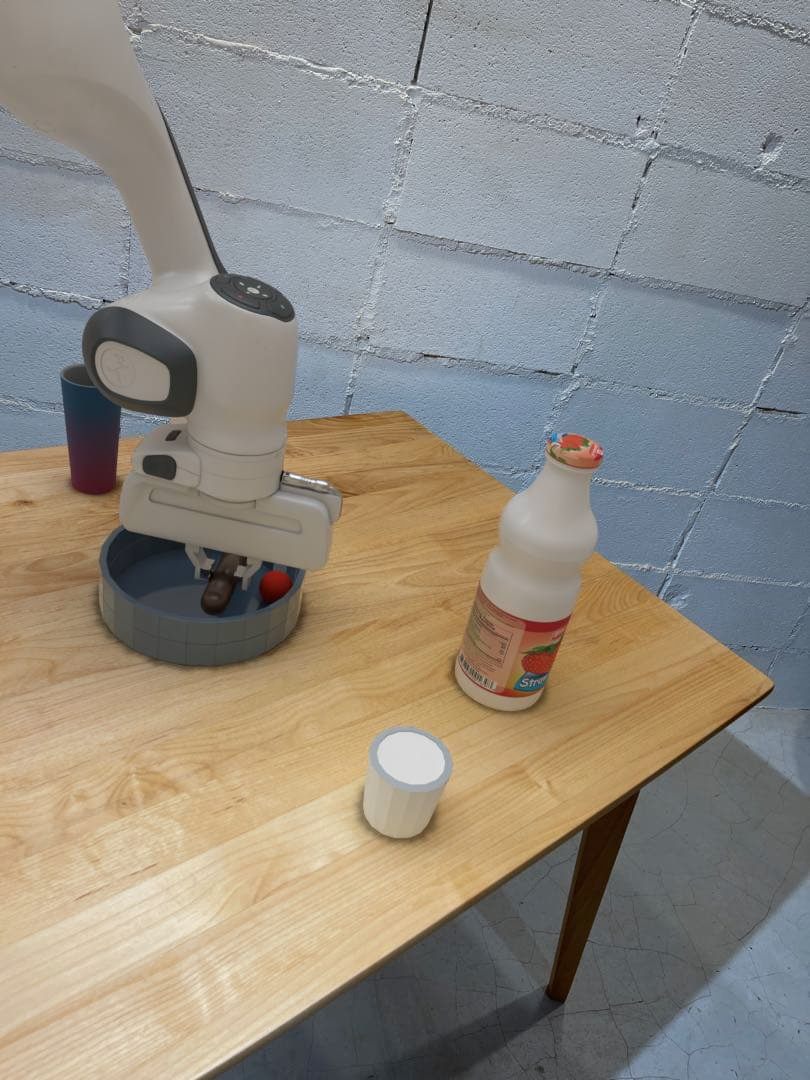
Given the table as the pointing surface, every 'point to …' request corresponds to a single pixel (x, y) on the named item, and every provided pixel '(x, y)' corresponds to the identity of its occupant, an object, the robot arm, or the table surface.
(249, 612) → the bowl
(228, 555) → the brown bar
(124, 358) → the robot arm
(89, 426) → the cup
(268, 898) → the table surface
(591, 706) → the table surface
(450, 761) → the shot glass
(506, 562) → the fruit juice
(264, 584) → the tomato
